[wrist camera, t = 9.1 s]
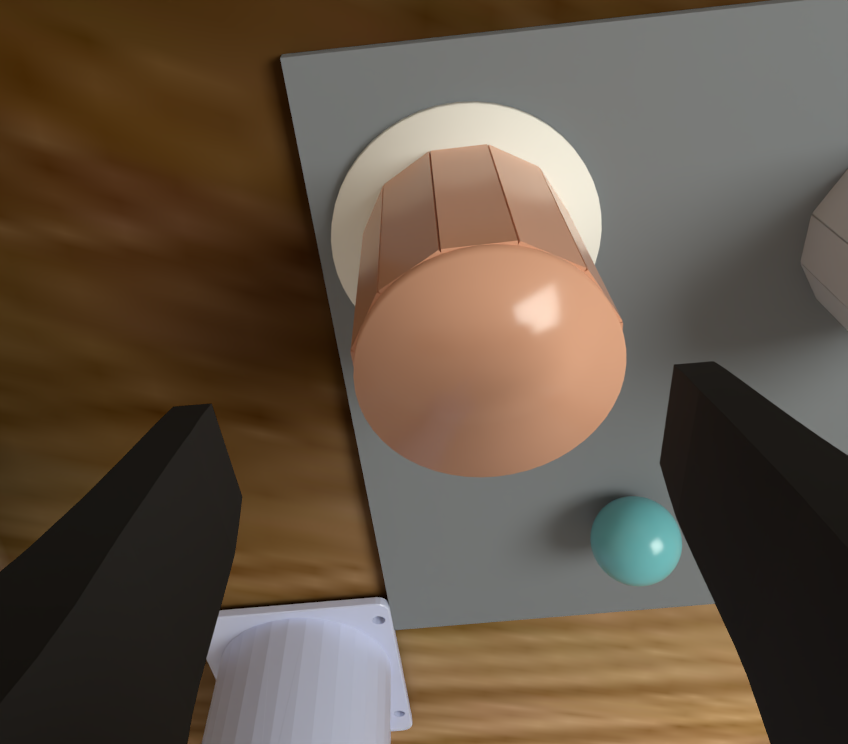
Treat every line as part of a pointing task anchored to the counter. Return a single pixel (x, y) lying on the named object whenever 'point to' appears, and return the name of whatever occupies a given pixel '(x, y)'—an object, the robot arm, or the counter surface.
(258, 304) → the counter surface
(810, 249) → the white domed cylinder
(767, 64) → the slate mat
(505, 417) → the peach domed cylinder
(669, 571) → the teal marble
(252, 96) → the counter surface
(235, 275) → the counter surface
